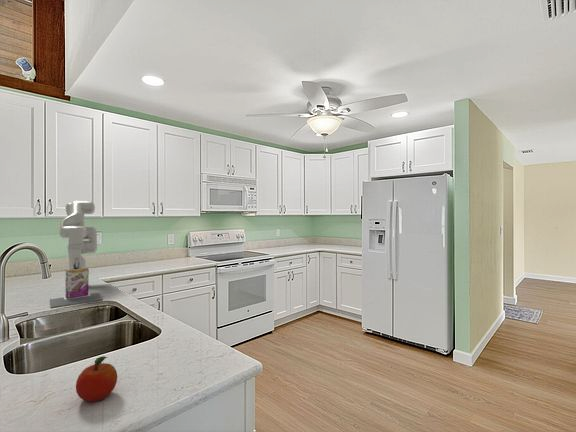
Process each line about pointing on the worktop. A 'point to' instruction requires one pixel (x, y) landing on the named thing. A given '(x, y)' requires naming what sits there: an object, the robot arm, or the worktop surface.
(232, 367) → the worktop surface
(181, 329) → the worktop surface
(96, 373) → the fruit
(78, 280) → the candy bar box
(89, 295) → the mat
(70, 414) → the worktop surface
